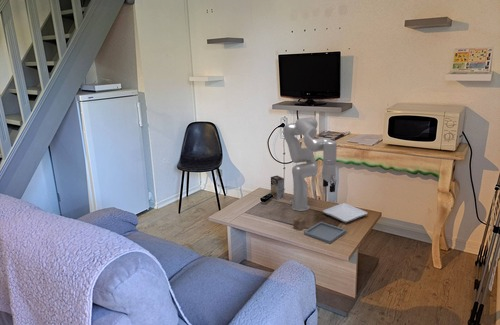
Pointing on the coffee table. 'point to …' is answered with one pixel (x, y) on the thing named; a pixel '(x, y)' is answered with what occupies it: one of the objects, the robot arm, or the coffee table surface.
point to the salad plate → (344, 212)
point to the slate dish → (325, 232)
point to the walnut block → (299, 223)
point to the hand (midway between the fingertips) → (328, 189)
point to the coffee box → (277, 187)
